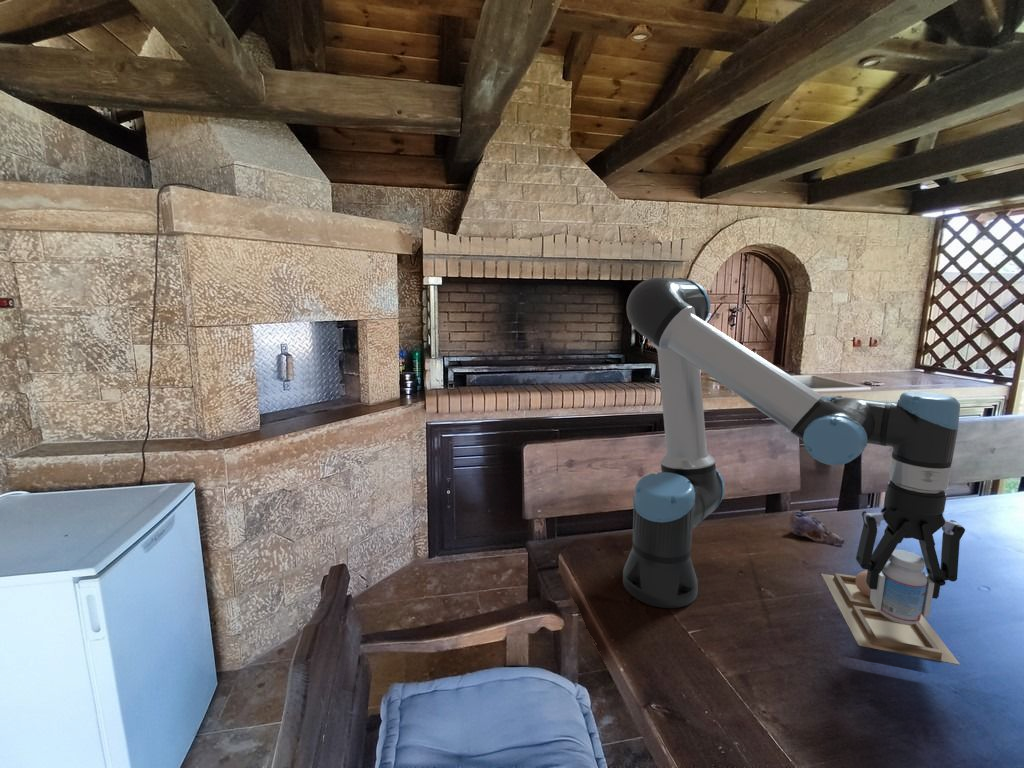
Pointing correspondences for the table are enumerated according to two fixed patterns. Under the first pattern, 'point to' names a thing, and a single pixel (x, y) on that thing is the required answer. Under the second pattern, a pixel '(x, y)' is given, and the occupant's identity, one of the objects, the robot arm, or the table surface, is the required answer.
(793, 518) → the skull
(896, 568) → the pill bottle
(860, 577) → the egg
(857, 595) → the tray
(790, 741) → the table surface
